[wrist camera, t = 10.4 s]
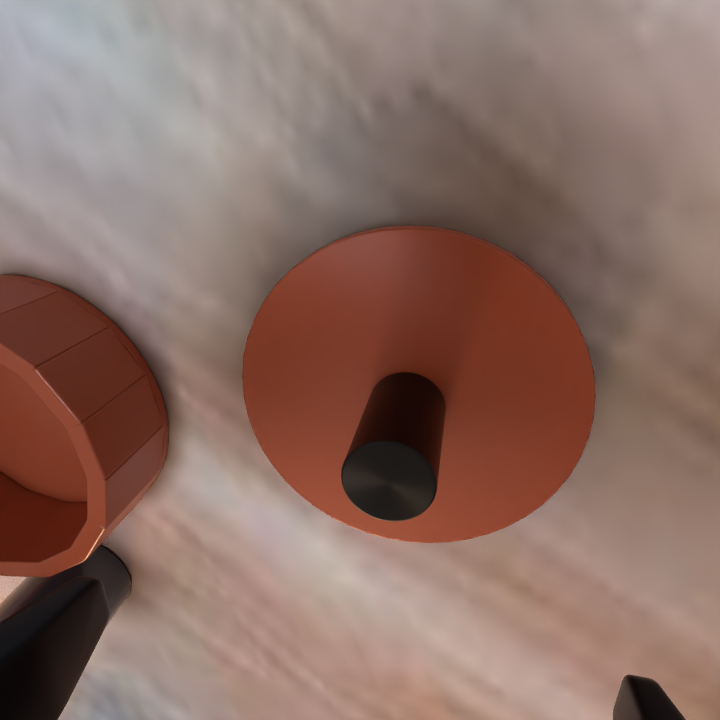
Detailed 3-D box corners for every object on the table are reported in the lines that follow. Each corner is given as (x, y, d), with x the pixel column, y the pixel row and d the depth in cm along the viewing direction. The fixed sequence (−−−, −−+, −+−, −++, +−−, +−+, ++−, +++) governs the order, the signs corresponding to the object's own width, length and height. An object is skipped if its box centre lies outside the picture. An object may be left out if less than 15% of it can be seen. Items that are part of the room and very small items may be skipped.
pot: (114, 256, 18) (25, 289, 14) (201, 507, 22) (148, 581, 18) (-115, 291, 20) (-238, 325, 17) (-1, 509, 24) (-82, 574, 21)
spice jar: (115, 536, 23) (-102, 784, 15) (145, 607, 25) (-35, 869, 16) (38, 536, 24) (-208, 767, 16) (72, 603, 26) (-135, 848, 17)
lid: (587, 193, 14) (640, 227, 10) (589, 522, 18) (627, 655, 14) (218, 247, 17) (121, 293, 12) (292, 522, 21) (240, 633, 16)
